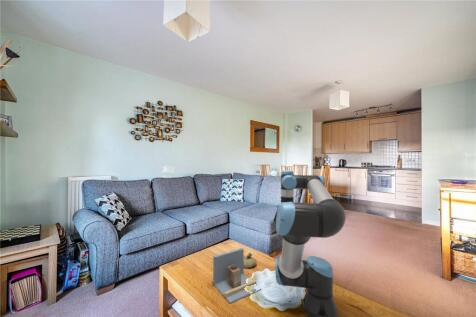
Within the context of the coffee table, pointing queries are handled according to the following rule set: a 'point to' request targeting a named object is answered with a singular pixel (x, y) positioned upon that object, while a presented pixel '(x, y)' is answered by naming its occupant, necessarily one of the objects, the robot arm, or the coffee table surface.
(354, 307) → the coffee table surface
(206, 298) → the coffee table surface
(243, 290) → the bracket
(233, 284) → the cabinet block
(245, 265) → the acorn cap
